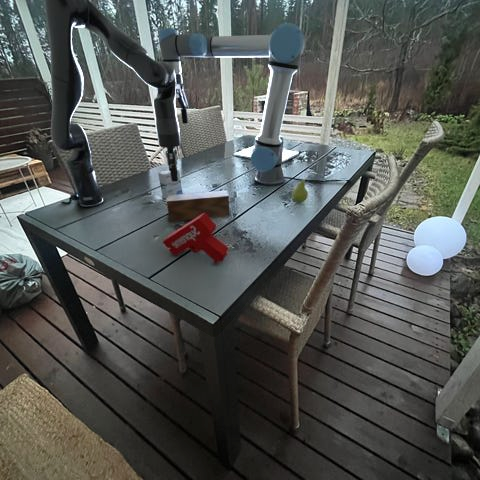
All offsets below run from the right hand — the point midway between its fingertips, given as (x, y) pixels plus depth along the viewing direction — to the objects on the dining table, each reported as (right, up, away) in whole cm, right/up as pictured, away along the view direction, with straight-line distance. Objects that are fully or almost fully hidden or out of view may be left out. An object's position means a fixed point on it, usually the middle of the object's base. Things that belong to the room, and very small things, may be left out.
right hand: (179, 126), depth 129 cm
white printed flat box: (+47, +4, +57) cm, 74 cm away
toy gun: (+15, -60, -42) cm, 74 cm away
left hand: (+5, -31, -28) cm, 42 cm away
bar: (+12, -44, -18) cm, 49 cm away
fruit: (+55, -37, -8) cm, 67 cm away
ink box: (-3, -34, -1) cm, 34 cm away
